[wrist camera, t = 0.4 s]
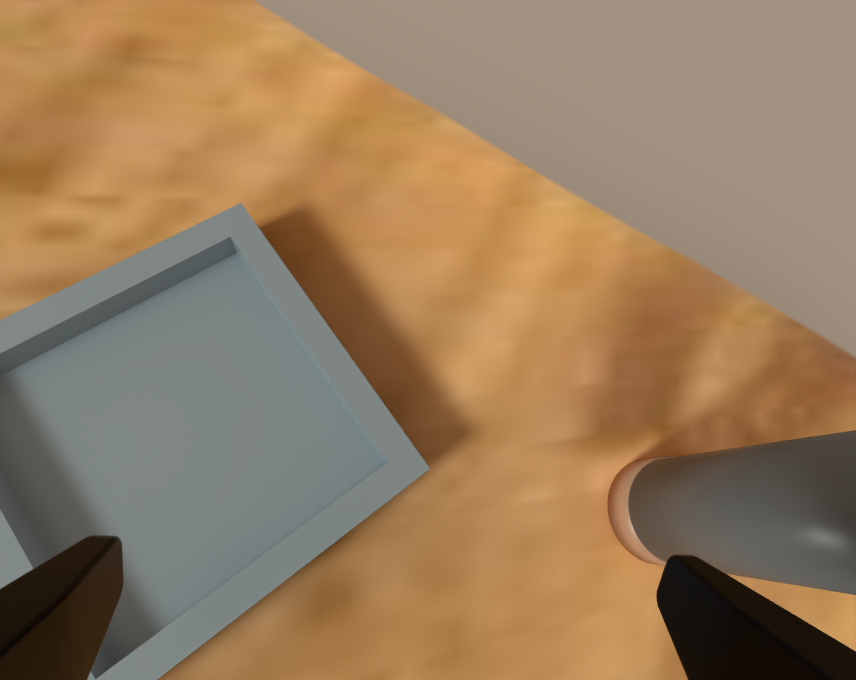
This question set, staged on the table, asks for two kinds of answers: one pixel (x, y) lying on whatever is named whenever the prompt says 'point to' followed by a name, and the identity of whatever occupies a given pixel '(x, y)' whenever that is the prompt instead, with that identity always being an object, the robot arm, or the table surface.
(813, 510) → the grey rounded peg
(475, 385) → the table surface
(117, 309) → the tray
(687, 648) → the robot arm
